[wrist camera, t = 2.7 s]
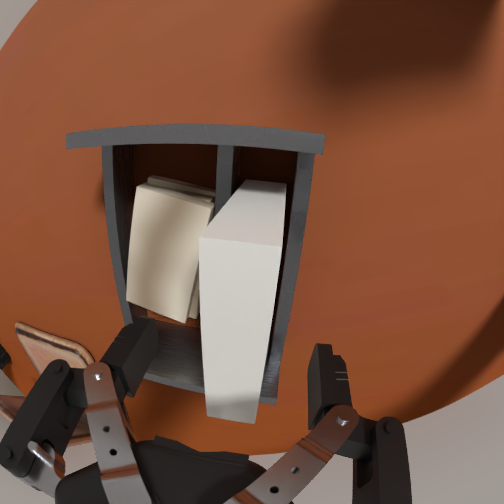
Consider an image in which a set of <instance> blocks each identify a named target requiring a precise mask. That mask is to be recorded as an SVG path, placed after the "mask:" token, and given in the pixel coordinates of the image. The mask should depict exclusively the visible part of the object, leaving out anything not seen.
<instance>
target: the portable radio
mask: <svg viewBox="0 0 504 504" xmlns="http://www.w3.org/2000/svg"><path fill="white" fill-rule="evenodd" d="M9 359H10V356H9V355H8V353H7V352H6V351H5V350H4V348H3V347H2V346H1V345H0V369H3V368H4V366H5V365H6V364H7V363H8V361H9Z"/></svg>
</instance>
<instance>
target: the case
mask: <svg viewBox="0 0 504 504" xmlns="http://www.w3.org/2000/svg"><path fill="white" fill-rule="evenodd" d="M15 329H16V334H17V336H18V338H19V340H20V342H21V344H22V346H23V348H24V349H25V351H26V353H27V354H28V356H29V358H30V360H31V361H32V363H33V365H34V366H35V368H36V370H37V371H38V373H39V374H40V376H41V374H42V373H43V371H44V370H45V368H46V367H47V365H48V364H49V363H50V362H51V361H53V360H56V359H63V360H65V361H67V362H68V364H69V365H70V367H71V368H86V367H87V366H88V365H89V364H91V363H94V360H93V358H92V356H91V354H90V353H89V352H88V351H87V350H86V349H85V348H84V347H83V346H82V345H80V344H78V343H76V342H73V341H71V340H68V339H64V338H61V337H58V336H55V335H52V334H49V333H46V332H44V331H41V330H38V329H36V328H33V327H31V326H28V325H26V324H23V323H21V322H17V323H16V324H15ZM25 399H26V397H23V396H7V395H0V413H1V414H2V415H3V416H4V417H6V418H7V419H8V420H9V421H11V422H12V421H13V419H14V417H15V415H16V414H17V412H18V410H19V409H20V407H21V405H22V404H23V402H24V400H25ZM89 442H92V438H91V434H90V429H89V425H88V420H87V415H86V408H85V410H84V412H83V414H82V416H81V418H80V420H79V422H78V424H77V426H76V428H75V430H74V432H73V435H72V437H71V439H70V441H69V443H68V445H67V447H71V446H75V445H81V444H85V443H89Z"/></svg>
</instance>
